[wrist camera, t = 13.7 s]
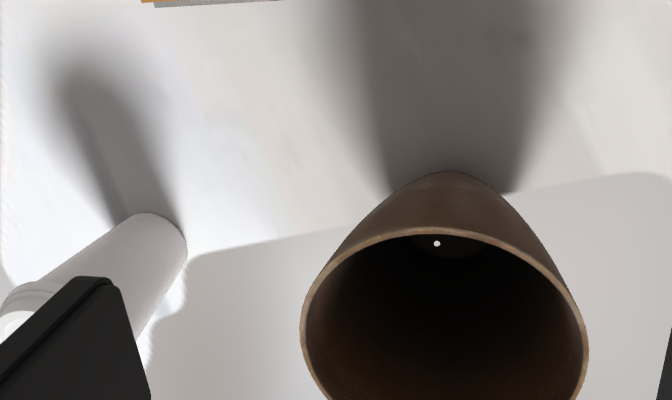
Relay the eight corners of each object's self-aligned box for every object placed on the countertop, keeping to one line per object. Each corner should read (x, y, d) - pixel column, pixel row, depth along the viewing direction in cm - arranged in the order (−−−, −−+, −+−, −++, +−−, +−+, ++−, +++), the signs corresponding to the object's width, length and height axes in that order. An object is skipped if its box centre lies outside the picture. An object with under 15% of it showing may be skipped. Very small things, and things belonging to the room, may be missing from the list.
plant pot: (343, 124, 43) (278, 229, 29) (556, 114, 39) (601, 229, 25) (363, 291, 49) (318, 443, 35) (548, 296, 46) (580, 467, 32)
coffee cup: (186, 304, 54) (94, 431, 41) (95, 258, 54) (-27, 370, 41) (217, 229, 50) (124, 344, 36) (118, 177, 49) (-11, 275, 36)
